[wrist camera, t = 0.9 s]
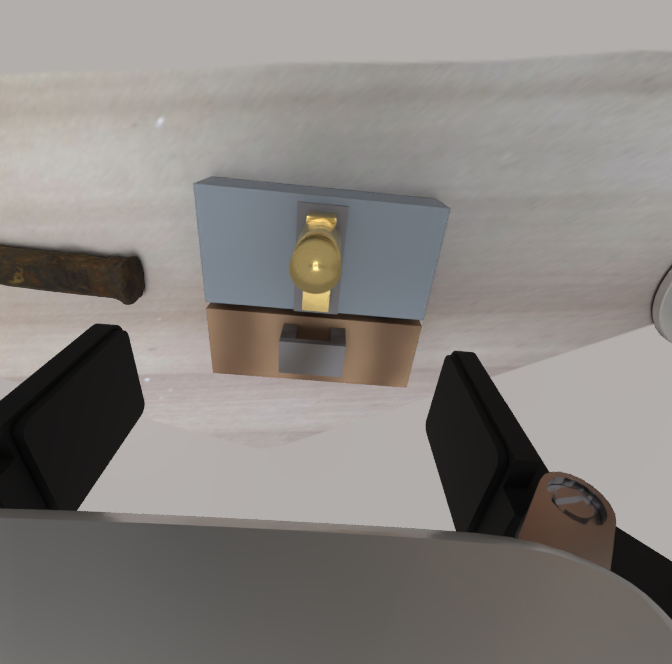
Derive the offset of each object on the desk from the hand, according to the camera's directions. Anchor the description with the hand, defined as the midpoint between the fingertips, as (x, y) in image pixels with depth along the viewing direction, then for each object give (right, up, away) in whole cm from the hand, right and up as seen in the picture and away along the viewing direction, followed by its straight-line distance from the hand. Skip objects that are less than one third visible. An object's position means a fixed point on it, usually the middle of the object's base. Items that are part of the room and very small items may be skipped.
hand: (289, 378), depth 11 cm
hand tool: (-25, +8, +21) cm, 34 cm away
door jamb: (-1, +2, +24) cm, 24 cm away
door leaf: (0, +9, +20) cm, 22 cm away
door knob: (0, +7, +16) cm, 17 cm away
